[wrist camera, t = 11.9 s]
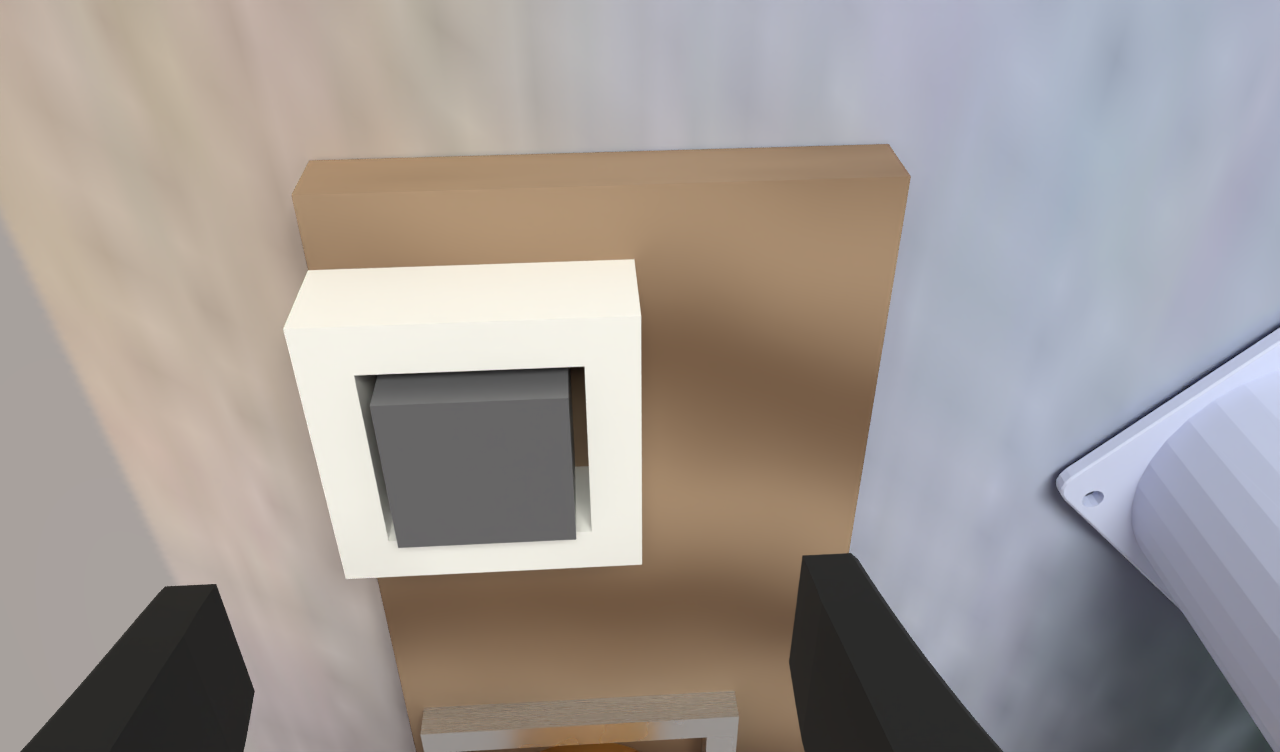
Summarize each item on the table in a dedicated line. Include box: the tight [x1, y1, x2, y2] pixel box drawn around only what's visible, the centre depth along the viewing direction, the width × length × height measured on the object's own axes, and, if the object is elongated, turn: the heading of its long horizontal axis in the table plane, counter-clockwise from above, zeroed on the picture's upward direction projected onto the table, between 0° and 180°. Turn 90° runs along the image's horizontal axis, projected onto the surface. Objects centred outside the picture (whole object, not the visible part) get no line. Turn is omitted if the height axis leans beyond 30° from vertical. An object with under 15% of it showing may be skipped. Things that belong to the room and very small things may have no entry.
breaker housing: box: [283, 259, 642, 579], centre depth 19 cm, size 6×6×2 cm
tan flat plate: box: [292, 144, 911, 752], centre depth 25 cm, size 23×11×2 cm, turn 0°
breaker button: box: [370, 367, 576, 548], centre depth 19 cm, size 3×3×2 cm
